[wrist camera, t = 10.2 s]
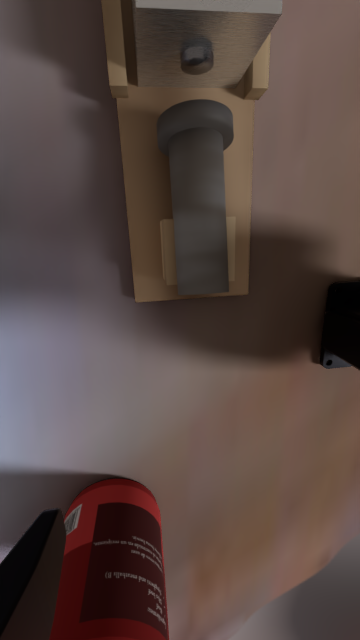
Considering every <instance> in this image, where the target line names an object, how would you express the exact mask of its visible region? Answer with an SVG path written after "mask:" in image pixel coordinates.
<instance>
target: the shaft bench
mask: <svg viewBox="0 0 360 640" xmlns="http://www.w3.org/2000/svg"><path fill="white" fill-rule="evenodd" d="M101 3H102V14H103V24H104V34H105V44H106V54H107V64H108V75H109V85H110V90H111V94H112V98H116V100H117V110H118V121H119V132H120V143H121V153H122V164H123V175H124V185H125V196H126V207H127V218H128V228H129V239H130V250H131V260H132V271H133V282H134V292H135V303H136V302H150V301H164V300H178V299H192V298H206V297H220V296H234V295H248V285H249V255H250V224H251V194H252V163H253V133H254V102H255V100H259V98H260V97H261V96H262V95H263V94H264V93H265V91H266V90H267V89H268V79H269V57H270V34H271V32H270V33H269V35H268V36H267V38H266V40H265V41H264V43H263V44H262V46H261V48H260V49H259V51H258V52H257V54H256V56H255V57H254V59H253V60H252V62H251V64H250V65H249V67H248V68H247V70H246V72H245V73H244V75H243V76H242V78H241V79H240V81H239V83H238V84H237V86H236V87H235V88H181V87H138V79H137V66H136V53H135V40H134V26H133V13H132V0H101Z"/></svg>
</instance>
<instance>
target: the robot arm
mask: <svg viewBox="0 0 360 640" xmlns="http://www.w3.org/2000/svg"><path fill="white" fill-rule="evenodd" d="M337 287H338V291H337V292H335V290H336V288H337ZM328 360H329V361H328ZM327 361H328V362H327ZM326 362H327V363H326ZM320 364H321V365H322V366H323V367H324V368H326V369H330V368H340V367H349V366H353V367H355V368H357V369H358V370H360V280H359V281H344V282H334V283H332V284H331V285H330V286H329V289H328V297H327V305H326V313H325V318H324V326H323V334H322V343H321V355H320ZM65 544H66V528H65V524H64V520H63V515H62V511H61V510H60V509H59V508H55V509H49V510H44V511H43V512H42V513H41V514H40V515H39V516H38V517H37V519H36V520H35V521H34V522H33V524H32V525H31V526H30V527H29V529H28V530H27V531H26V532H25V534H24V535H23V536H22V537H21V539H20V540H19V541H18V542H17V544H16V545H15V546H14V547H13V549H12V550H11V551H10V552H9V554H8V555H7V556H6V557H5V559H4V560H3V561H2V562H1V564H0V640H49V638H50V634H51V629H52V625H53V620H54V614H55V608H56V602H57V595H58V589H59V583H60V576H61V570H62V563H63V557H64V550H65Z"/></svg>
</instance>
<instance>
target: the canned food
mask: <svg viewBox="0 0 360 640" xmlns="http://www.w3.org/2000/svg"><path fill="white" fill-rule="evenodd" d="M64 524H65V528H66V544H65V550H64V557H63V563H62V570H61V576H60V583H59V589H58V595H57V602H56V608H55V614H54V620H53V625H52V629H51V634H50V638H49V640H169V631H168V617H167V603H166V588H165V574H164V560H163V546H162V532H161V518H160V510H159V508H158V505H157V503H156V500H155V498H154V496H153V494H152V493H151V492H150V491H149V490H148V489H147V488H146V487H145V486H143V485H142V484H140V483H138V482H135V481H132V480H128V479H108V480H103V481H100V482H97V483H94V484H92V485H91V486H89V487H87V488H86V489H84V490H83V491H82V492H80V494H79V495H78V496H77V497H76V498H75V499H74V501H73V503H72V504H71V506H70V508H69V509H68V511H67V513H66V515H65V518H64Z"/></svg>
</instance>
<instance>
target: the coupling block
mask: <svg viewBox="0 0 360 640" xmlns="http://www.w3.org/2000/svg"><path fill="white" fill-rule="evenodd" d="M132 13H133V26H134V40H135V53H136V66H137V79H138V87H181V88H235V87H236V86H237V84H238V83H239V81H240V79H241V78H242V76H243V75H244V73H245V72H246V70H247V68H248V67H249V65H250V64H251V62H252V60H253V59H254V57H255V56H256V54H257V52H258V51H259V49H260V48H261V46H262V44H263V43H264V41H265V40H266V38H267V36H268V35H269V33H270V32H271V30H272V29H273V27H274V25H275V24H276V22H277V21H278V19H279V17H280V16H281V14H282V0H132Z"/></svg>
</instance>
